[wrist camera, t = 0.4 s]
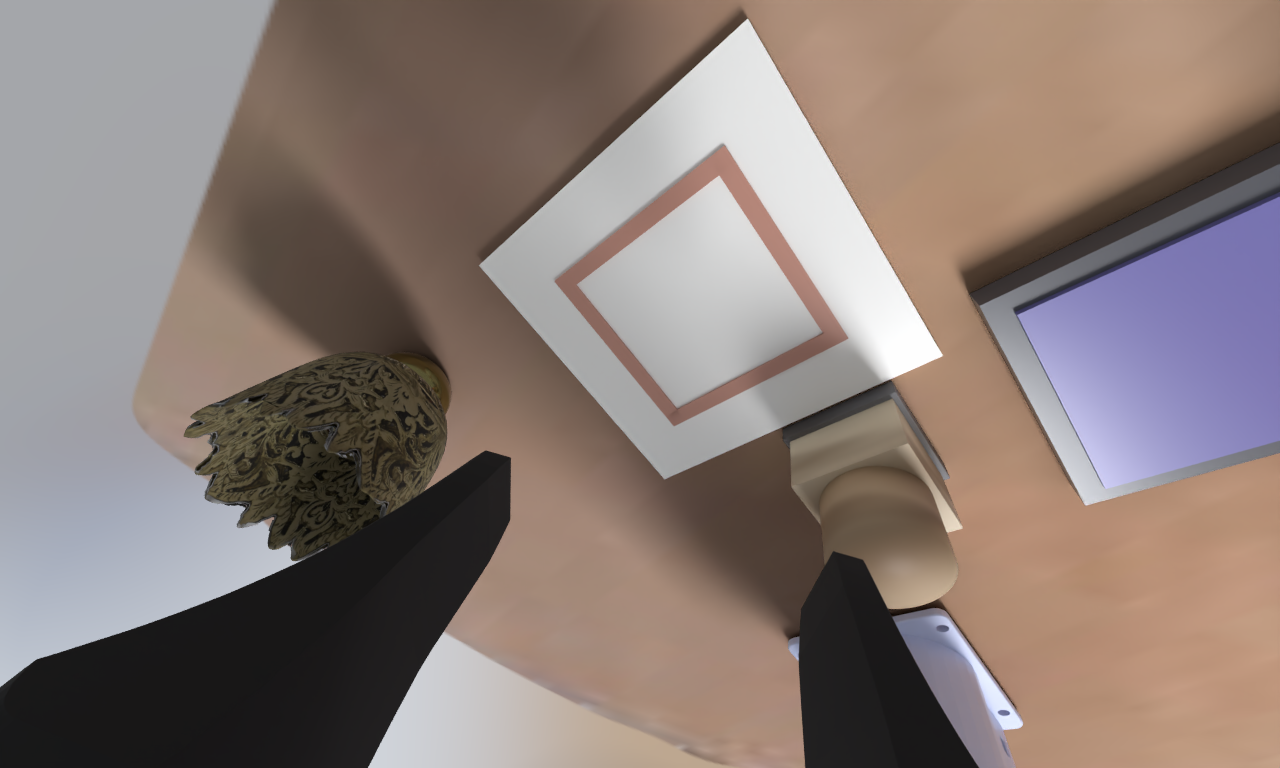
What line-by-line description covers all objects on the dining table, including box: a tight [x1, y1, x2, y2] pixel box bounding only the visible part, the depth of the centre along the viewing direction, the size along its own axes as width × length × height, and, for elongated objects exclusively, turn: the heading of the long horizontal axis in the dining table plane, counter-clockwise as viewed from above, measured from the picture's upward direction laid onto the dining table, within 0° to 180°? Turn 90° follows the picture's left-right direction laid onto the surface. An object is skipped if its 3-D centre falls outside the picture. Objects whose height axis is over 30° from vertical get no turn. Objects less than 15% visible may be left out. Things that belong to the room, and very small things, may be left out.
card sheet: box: [479, 19, 943, 479], centre depth 18 cm, size 12×12×1 cm
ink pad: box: [969, 142, 1280, 505], centre depth 15 cm, size 9×9×1 cm
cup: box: [184, 352, 451, 561], centre depth 20 cm, size 8×7×8 cm
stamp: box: [783, 381, 963, 609], centre depth 17 cm, size 4×4×6 cm
